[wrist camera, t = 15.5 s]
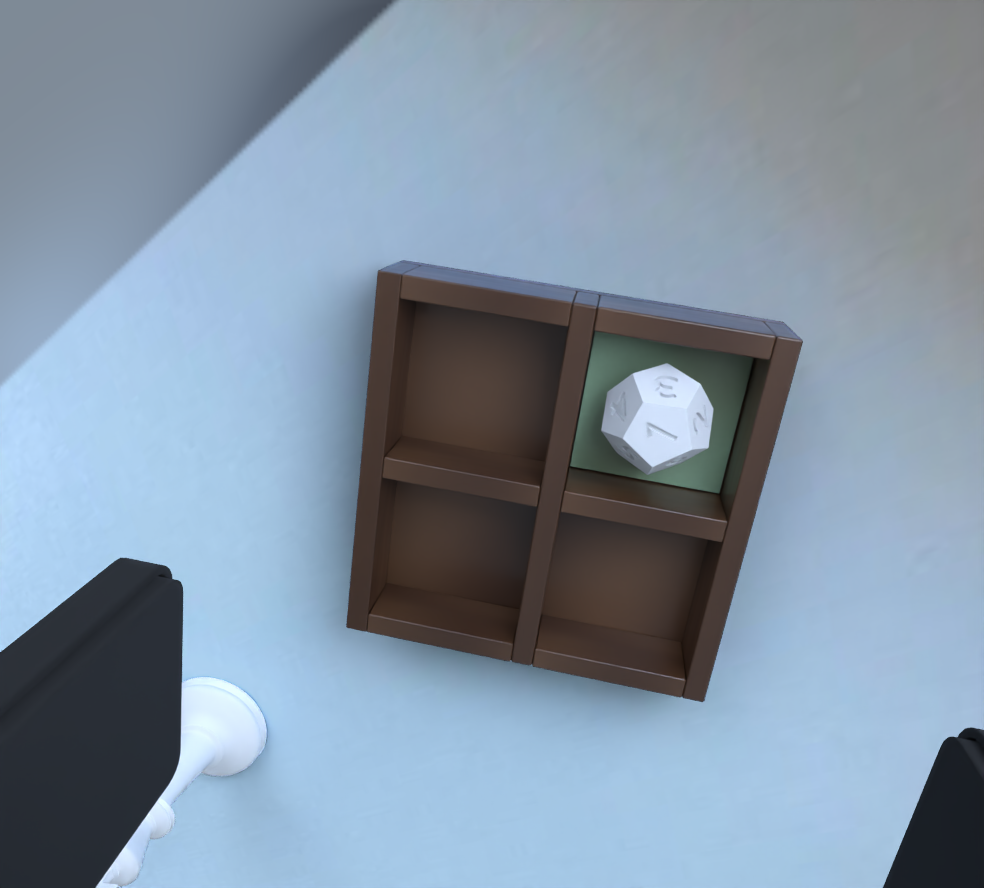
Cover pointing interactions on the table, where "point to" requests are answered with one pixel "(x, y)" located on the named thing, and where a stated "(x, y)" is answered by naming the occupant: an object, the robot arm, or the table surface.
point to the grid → (555, 476)
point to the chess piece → (197, 760)
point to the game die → (657, 418)
